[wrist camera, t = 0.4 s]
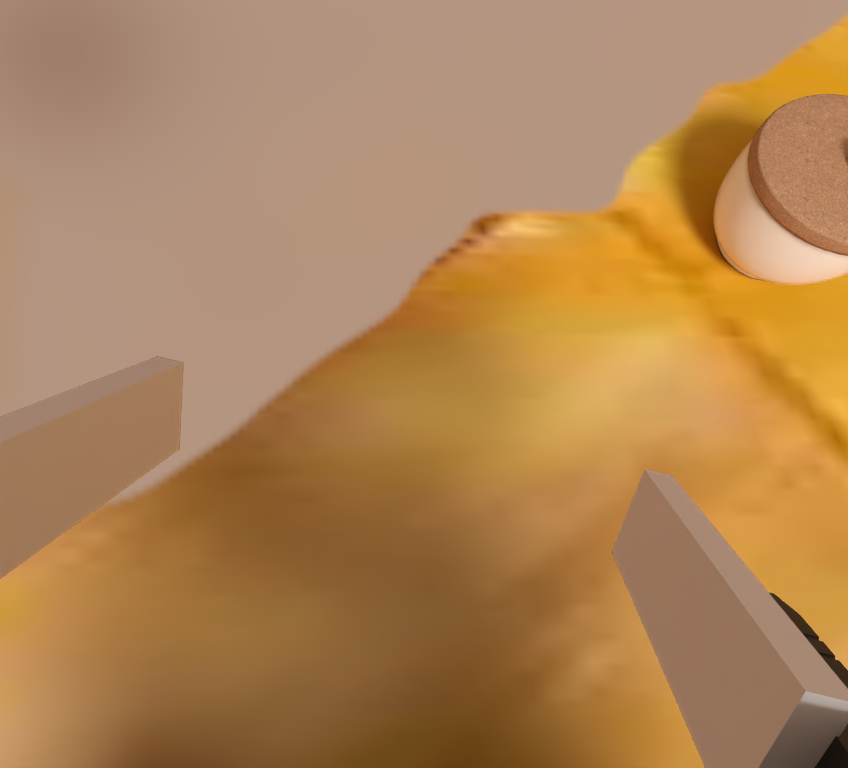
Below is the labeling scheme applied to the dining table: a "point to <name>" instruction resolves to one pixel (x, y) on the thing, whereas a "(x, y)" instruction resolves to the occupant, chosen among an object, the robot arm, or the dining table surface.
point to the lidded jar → (789, 196)
